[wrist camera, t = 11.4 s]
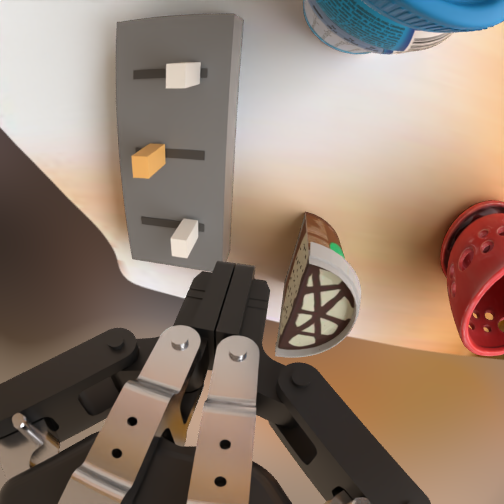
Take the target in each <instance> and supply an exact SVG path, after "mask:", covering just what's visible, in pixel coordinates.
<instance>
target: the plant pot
mask: <svg viewBox="0 0 504 504" xmlns="http://www.w3.org/2000/svg"><path fill="white" fill-rule="evenodd" d="M441 267H442V270H443V272H444V274H445V276H446V278H447V288H448V295H449V301H450V306H451V310H452V314H453V317H454V321H455V324H456V327H457V330H458V333H459V335H460V338H461V340H462V342H463V344H464V346H465V347H466V348H467V349H468V350H470V351H471V352H473V353H475V354H477V355H482V356H496V355H501V354H504V332H502V331H501V330H500V329H499V328H498V323H499V321H501V320H503V319H504V202H501V201H492V200H491V201H484V202H481V203H478V204H475V205H473V206H471V207H470V208H468V209H467V210H465V211H464V212H463V213H462V214H460V215H459V217H458V218H457V219H456V220H455V221H454V222H453V224H452V225H451V226H450V228H449V230H448V232H447V233H446V236H445V238H444V241H443V244H442V248H441ZM487 312H488V313H491V314H492V315H493V320H488V319H486V318H485V313H487ZM473 313H475V314H476V315H477V318H475V317H474V316H473ZM469 325H470V326H471V328H472V329H471V328H469V327H468V326H469ZM483 327H486V328H487V329H488V330H489V332H486V331H484V329H483Z"/></svg>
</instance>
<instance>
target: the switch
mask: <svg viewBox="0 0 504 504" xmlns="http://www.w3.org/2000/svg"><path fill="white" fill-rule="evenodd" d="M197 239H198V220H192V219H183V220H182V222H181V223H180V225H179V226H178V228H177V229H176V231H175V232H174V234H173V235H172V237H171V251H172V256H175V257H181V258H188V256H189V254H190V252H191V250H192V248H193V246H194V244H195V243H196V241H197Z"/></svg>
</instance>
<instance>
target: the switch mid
mask: <svg viewBox="0 0 504 504" xmlns="http://www.w3.org/2000/svg"><path fill="white" fill-rule="evenodd" d="M131 157H132V171H133V178H146V179H149V178H150V177H151V176H152V175H154V174H155V173H156V172H157V171H158V170H159V169H160V168H161V167H162V166H164V165H165V144H152V143H150V144H148V145H147V146H145V147H144V148H142V149H141V150H139V151H138V152H137V153H135V154H134V155H132V156H131Z"/></svg>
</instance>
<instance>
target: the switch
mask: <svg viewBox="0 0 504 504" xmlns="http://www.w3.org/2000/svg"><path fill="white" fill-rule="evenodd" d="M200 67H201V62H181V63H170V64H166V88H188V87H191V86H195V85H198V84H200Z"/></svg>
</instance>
